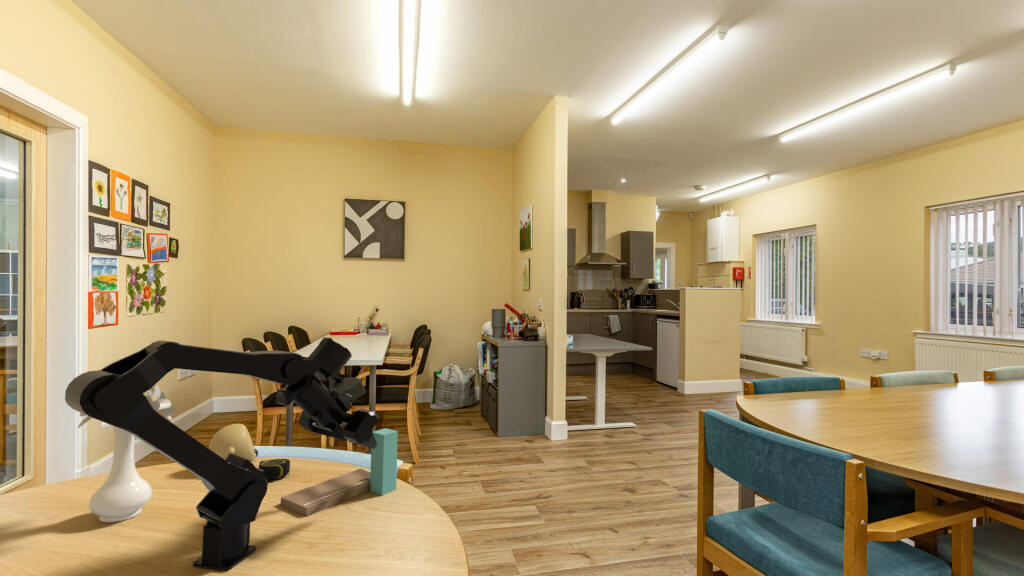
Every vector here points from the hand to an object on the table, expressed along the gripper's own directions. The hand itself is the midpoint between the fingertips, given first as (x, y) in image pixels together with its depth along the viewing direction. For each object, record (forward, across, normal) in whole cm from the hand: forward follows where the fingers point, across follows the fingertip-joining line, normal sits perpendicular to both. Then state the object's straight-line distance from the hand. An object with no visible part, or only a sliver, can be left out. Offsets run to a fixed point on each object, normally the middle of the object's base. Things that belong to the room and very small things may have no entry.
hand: (360, 442), depth 97 cm
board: (+8, +7, +9) cm, 14 cm away
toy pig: (+5, +42, +12) cm, 44 cm away
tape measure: (+7, +28, +11) cm, 31 cm away
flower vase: (-12, +31, +30) cm, 45 cm away
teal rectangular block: (+13, +1, +4) cm, 14 cm away
